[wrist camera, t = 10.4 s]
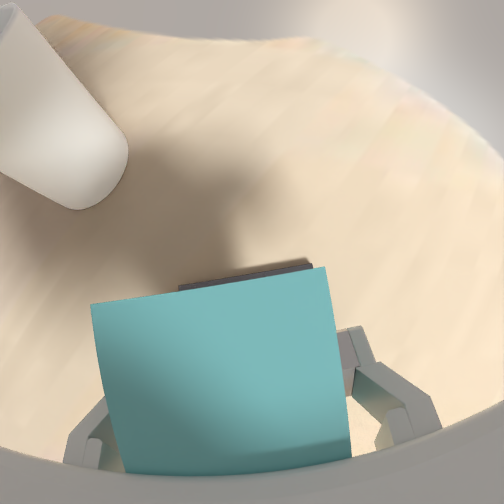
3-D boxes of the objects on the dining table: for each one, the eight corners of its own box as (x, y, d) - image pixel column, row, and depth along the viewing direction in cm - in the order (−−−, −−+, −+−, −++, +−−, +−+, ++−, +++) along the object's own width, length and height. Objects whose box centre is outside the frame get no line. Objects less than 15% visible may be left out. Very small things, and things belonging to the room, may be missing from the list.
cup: (82, 116, 25) (-16, 11, 10) (145, 135, 24) (43, -8, 8) (39, 192, 24) (-90, 117, 9) (97, 224, 23) (-64, 135, 7)
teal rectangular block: (205, 415, 14) (136, 504, 6) (186, 308, 16) (90, 304, 7) (317, 401, 14) (354, 491, 6) (300, 290, 15) (324, 266, 7)
